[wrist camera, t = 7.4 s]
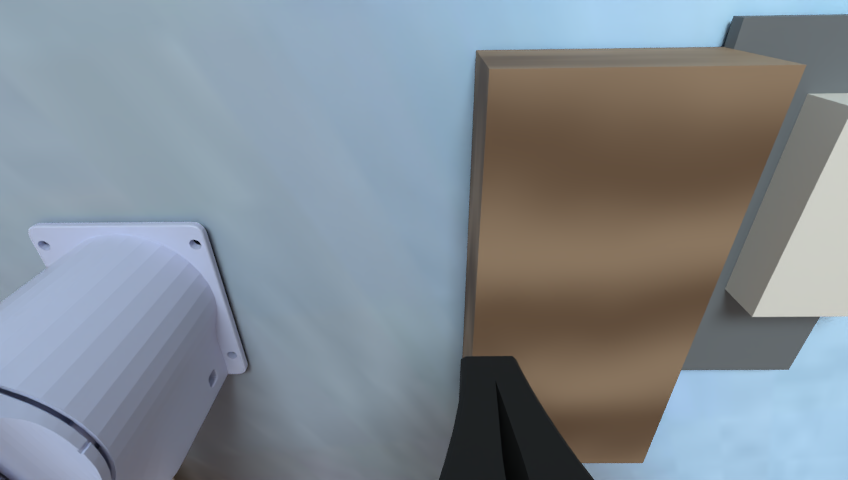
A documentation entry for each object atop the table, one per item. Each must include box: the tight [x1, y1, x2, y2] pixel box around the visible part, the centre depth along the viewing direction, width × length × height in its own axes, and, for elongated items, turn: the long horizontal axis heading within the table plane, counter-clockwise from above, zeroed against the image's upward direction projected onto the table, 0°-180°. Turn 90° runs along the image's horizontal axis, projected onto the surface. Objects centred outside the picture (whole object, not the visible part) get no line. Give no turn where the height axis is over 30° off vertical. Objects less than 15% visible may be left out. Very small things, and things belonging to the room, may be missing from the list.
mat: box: [681, 14, 848, 370], centre depth 19 cm, size 17×8×1 cm, turn 1°
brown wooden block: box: [463, 47, 806, 463], centre depth 19 cm, size 19×9×4 cm, turn 1°
